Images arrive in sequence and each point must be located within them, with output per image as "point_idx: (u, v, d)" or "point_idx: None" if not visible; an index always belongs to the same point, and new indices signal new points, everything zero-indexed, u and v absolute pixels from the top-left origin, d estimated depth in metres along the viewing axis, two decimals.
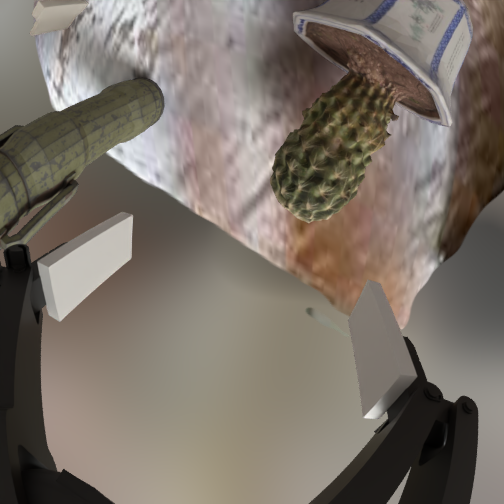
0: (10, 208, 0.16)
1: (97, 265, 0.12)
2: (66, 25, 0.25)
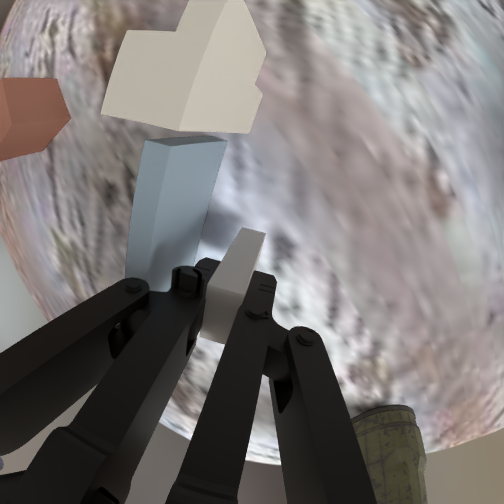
0: None
1: None
2: None
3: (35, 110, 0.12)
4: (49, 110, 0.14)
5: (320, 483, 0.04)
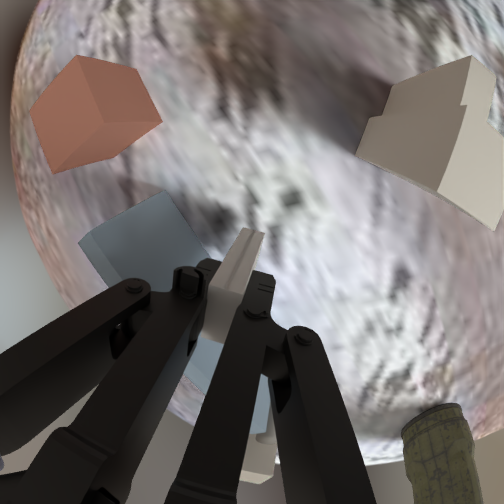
0: None
1: None
2: None
3: (126, 106, 0.12)
4: (140, 108, 0.13)
5: (319, 483, 0.04)
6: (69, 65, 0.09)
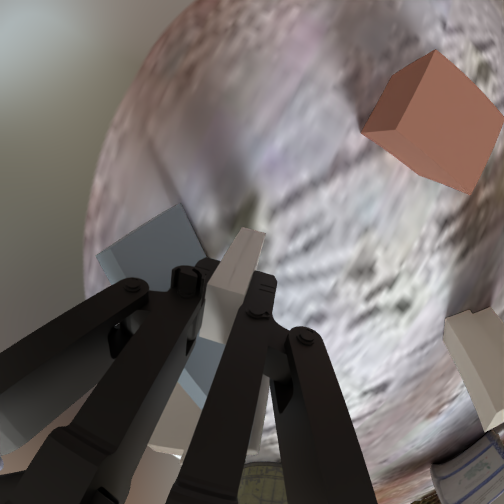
0: None
1: None
2: None
3: None
4: None
5: (320, 483, 0.04)
6: (496, 112, 0.07)
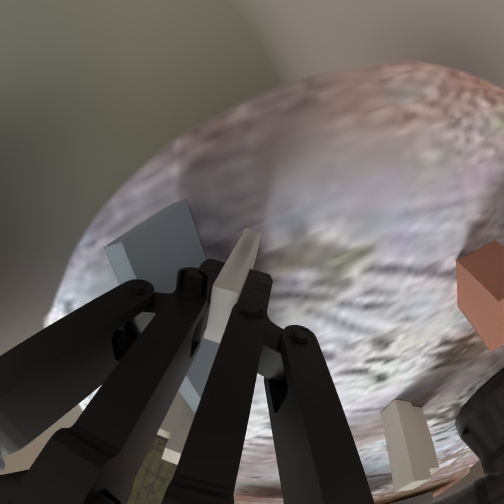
0: None
1: None
2: None
3: None
4: None
5: (316, 482, 0.04)
6: None
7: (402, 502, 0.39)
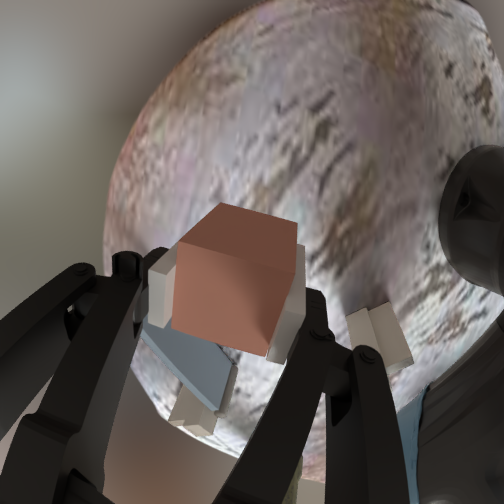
0: None
1: None
2: None
3: None
4: None
5: (365, 492, 0.04)
6: (277, 273, 0.10)
7: None
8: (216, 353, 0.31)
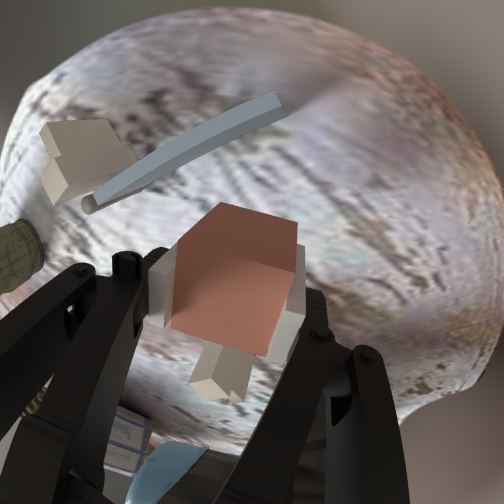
0: None
1: None
2: None
3: None
4: None
5: (365, 492, 0.04)
6: (277, 273, 0.10)
7: None
8: (168, 172, 0.22)
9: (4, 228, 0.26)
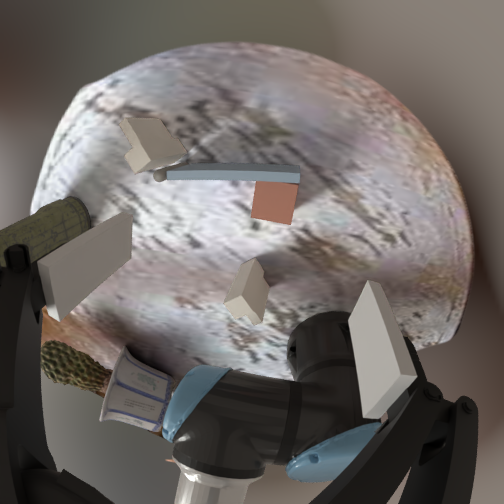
0: None
1: (97, 265, 0.12)
2: None
3: None
4: None
5: None
6: (292, 186, 0.29)
7: None
8: None
9: (57, 202, 0.36)
